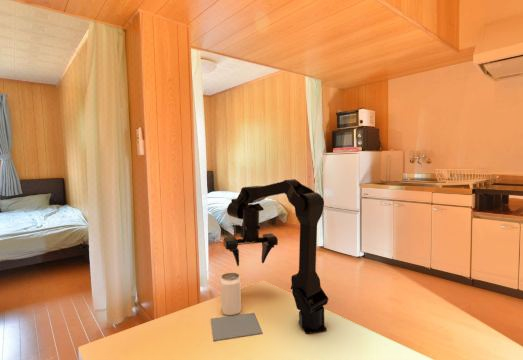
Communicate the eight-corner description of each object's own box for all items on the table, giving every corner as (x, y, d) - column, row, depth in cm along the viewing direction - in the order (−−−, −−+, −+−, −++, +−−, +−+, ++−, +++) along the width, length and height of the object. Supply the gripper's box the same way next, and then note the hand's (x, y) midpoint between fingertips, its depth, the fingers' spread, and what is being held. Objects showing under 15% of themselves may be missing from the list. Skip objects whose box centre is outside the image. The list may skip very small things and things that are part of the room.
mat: (254, 313, 100) (254, 312, 100) (262, 333, 88) (262, 332, 88) (210, 319, 97) (210, 318, 97) (213, 341, 85) (213, 340, 85)
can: (240, 316, 99) (239, 279, 98) (220, 316, 99) (218, 279, 98) (242, 306, 105) (241, 272, 104) (223, 306, 105) (221, 272, 104)
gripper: (268, 215, 119) (267, 254, 121) (220, 218, 113) (220, 259, 115) (278, 222, 108) (277, 264, 110) (226, 225, 102) (226, 270, 104)
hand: (250, 264), depth 110 cm, fingers open, 9 cm apart
